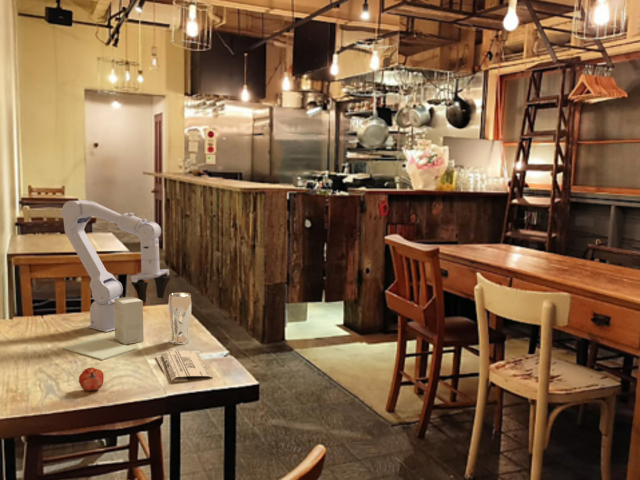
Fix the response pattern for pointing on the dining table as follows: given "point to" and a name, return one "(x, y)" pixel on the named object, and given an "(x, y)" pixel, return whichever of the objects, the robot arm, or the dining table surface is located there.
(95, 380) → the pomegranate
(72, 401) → the dining table surface
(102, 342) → the mat
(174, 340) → the beer glass
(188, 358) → the newspaper
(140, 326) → the small box
